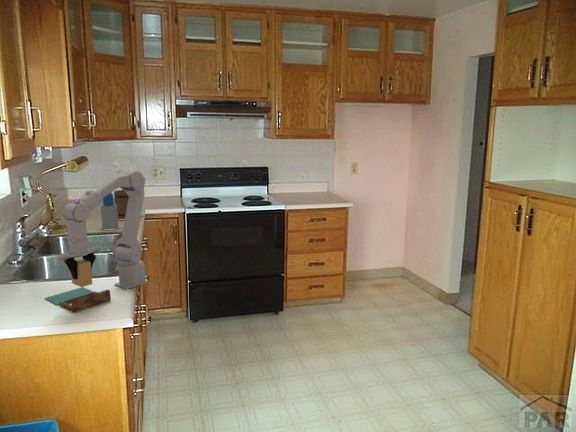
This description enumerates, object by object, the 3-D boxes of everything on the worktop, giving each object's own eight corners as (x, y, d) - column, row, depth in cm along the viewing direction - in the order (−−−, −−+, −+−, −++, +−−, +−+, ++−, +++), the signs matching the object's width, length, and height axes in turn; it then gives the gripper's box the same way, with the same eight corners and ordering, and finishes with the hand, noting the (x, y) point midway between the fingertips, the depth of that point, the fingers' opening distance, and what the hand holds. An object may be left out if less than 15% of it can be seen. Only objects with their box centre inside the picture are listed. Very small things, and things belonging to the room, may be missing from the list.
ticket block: (83, 280, 159) (81, 258, 157) (92, 284, 155) (90, 261, 154) (72, 283, 156) (70, 261, 154) (81, 287, 152) (79, 264, 151)
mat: (82, 288, 171) (82, 287, 171) (96, 293, 165) (95, 292, 165) (44, 299, 160) (44, 298, 160) (57, 305, 154) (57, 304, 154)
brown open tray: (95, 294, 165) (95, 284, 164) (110, 300, 159) (109, 290, 158) (59, 305, 154) (58, 294, 154) (73, 313, 148) (72, 301, 148)
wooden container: (143, 218, 298) (141, 185, 293) (122, 221, 287) (120, 187, 282) (132, 215, 307) (129, 183, 303) (111, 218, 297) (108, 185, 292)
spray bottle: (102, 228, 269) (99, 186, 264) (118, 226, 272) (115, 185, 267) (102, 231, 261) (98, 188, 256) (118, 230, 264) (115, 187, 259)
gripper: (62, 245, 144) (66, 285, 147) (104, 236, 156) (107, 273, 158) (51, 241, 149) (56, 280, 151) (93, 233, 160) (96, 269, 163)
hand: (81, 277), depth 155 cm, fingers closed on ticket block, 4 cm apart
